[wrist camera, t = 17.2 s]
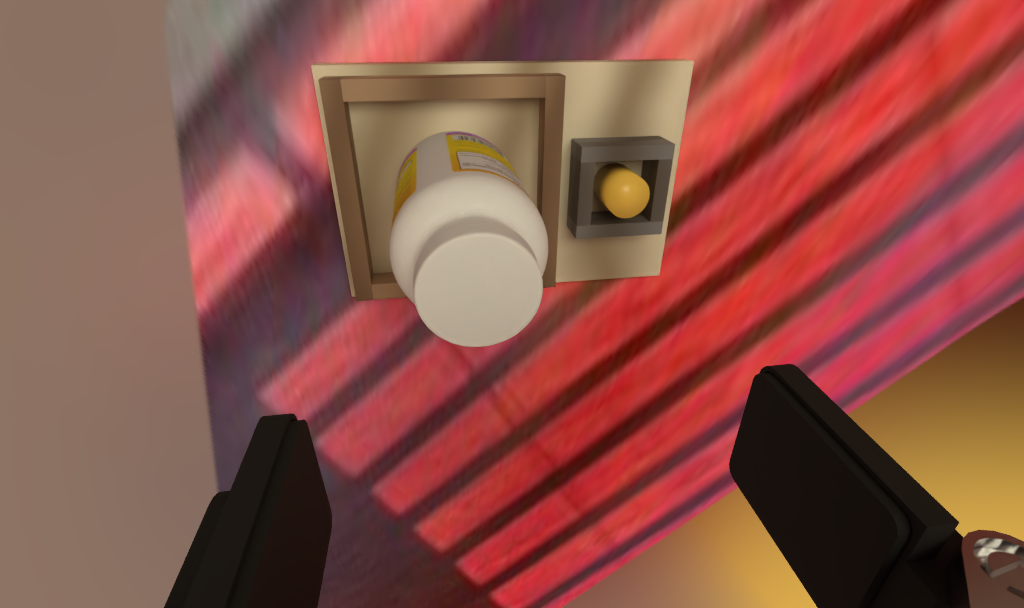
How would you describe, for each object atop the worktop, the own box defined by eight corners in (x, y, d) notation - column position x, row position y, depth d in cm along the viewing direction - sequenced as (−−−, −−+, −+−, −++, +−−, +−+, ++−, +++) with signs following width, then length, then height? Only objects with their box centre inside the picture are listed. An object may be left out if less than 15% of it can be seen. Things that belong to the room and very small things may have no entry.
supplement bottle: (425, 257, 31) (428, 393, 20) (376, 154, 28) (346, 248, 17) (528, 218, 31) (588, 333, 20) (491, 109, 27) (539, 175, 16)
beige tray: (684, 59, 29) (713, 64, 26) (652, 267, 35) (673, 290, 32) (315, 63, 26) (302, 69, 23) (353, 287, 33) (347, 315, 30)
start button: (635, 162, 30) (652, 174, 28) (630, 202, 31) (646, 217, 29) (595, 163, 29) (609, 176, 27) (591, 204, 31) (605, 219, 28)
